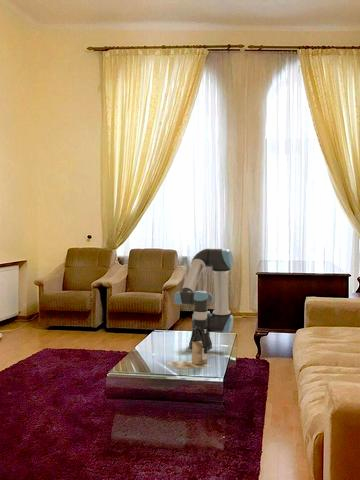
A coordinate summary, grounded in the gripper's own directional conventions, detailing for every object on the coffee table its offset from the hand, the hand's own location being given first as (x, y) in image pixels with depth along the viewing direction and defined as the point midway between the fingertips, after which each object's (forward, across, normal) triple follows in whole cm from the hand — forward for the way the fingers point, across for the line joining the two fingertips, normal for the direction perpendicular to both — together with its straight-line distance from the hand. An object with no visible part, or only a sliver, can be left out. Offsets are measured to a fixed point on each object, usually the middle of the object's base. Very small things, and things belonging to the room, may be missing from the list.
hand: (199, 356), depth 306 cm
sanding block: (+4, 0, 0) cm, 4 cm away
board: (+5, 0, -7) cm, 9 cm away
